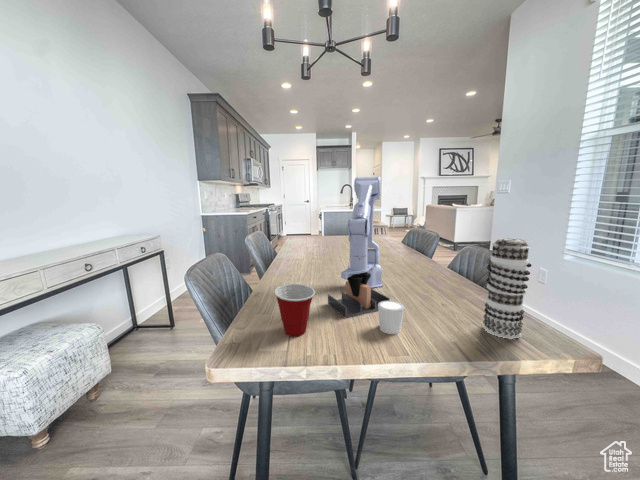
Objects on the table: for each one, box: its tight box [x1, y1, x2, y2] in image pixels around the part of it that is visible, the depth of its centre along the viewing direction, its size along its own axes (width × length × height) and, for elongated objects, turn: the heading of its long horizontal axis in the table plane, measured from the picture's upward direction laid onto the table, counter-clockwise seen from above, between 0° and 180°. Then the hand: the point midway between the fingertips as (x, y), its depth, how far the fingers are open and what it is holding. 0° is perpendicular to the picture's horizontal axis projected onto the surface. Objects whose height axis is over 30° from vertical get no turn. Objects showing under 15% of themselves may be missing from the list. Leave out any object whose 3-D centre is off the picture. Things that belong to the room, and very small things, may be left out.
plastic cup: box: [274, 283, 316, 338], centre depth 69 cm, size 11×11×12 cm
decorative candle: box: [482, 237, 532, 339], centre depth 67 cm, size 9×9×25 cm
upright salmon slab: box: [345, 280, 372, 308], centre depth 86 cm, size 2×9×7 cm, turn 42°
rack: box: [327, 288, 391, 319], centre depth 86 cm, size 17×12×3 cm
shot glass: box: [377, 300, 405, 335], centre depth 71 cm, size 7×7×7 cm
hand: (358, 294), depth 86 cm, fingers closed on upright salmon slab, 2 cm apart
